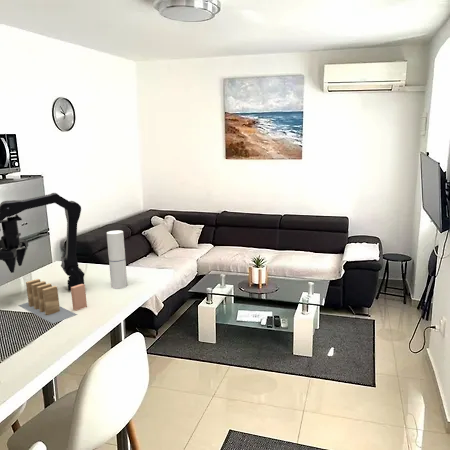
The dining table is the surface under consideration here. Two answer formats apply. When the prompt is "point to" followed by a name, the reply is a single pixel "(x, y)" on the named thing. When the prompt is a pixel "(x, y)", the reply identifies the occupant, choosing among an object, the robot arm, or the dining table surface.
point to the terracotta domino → (78, 297)
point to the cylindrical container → (117, 259)
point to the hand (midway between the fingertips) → (16, 269)
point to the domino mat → (52, 317)
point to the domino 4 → (51, 300)
